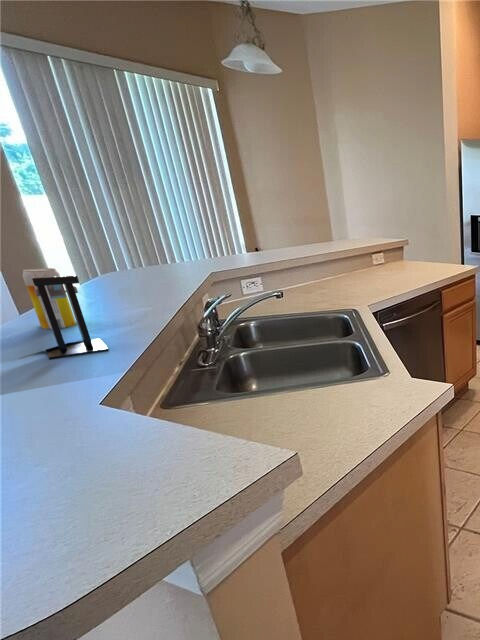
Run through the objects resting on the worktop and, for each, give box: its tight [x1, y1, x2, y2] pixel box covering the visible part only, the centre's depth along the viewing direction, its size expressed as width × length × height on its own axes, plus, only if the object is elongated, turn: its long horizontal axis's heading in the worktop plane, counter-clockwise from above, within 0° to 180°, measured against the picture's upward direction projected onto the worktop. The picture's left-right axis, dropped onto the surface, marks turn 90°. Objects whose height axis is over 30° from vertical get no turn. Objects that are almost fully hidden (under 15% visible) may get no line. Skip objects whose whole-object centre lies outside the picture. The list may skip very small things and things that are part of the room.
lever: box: [32, 275, 80, 299], centre depth 86 cm, size 12×6×2 cm, turn 49°
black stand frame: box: [34, 284, 110, 361], centre depth 91 cm, size 11×9×15 cm
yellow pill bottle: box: [22, 267, 77, 330], centre depth 105 cm, size 6×6×15 cm
